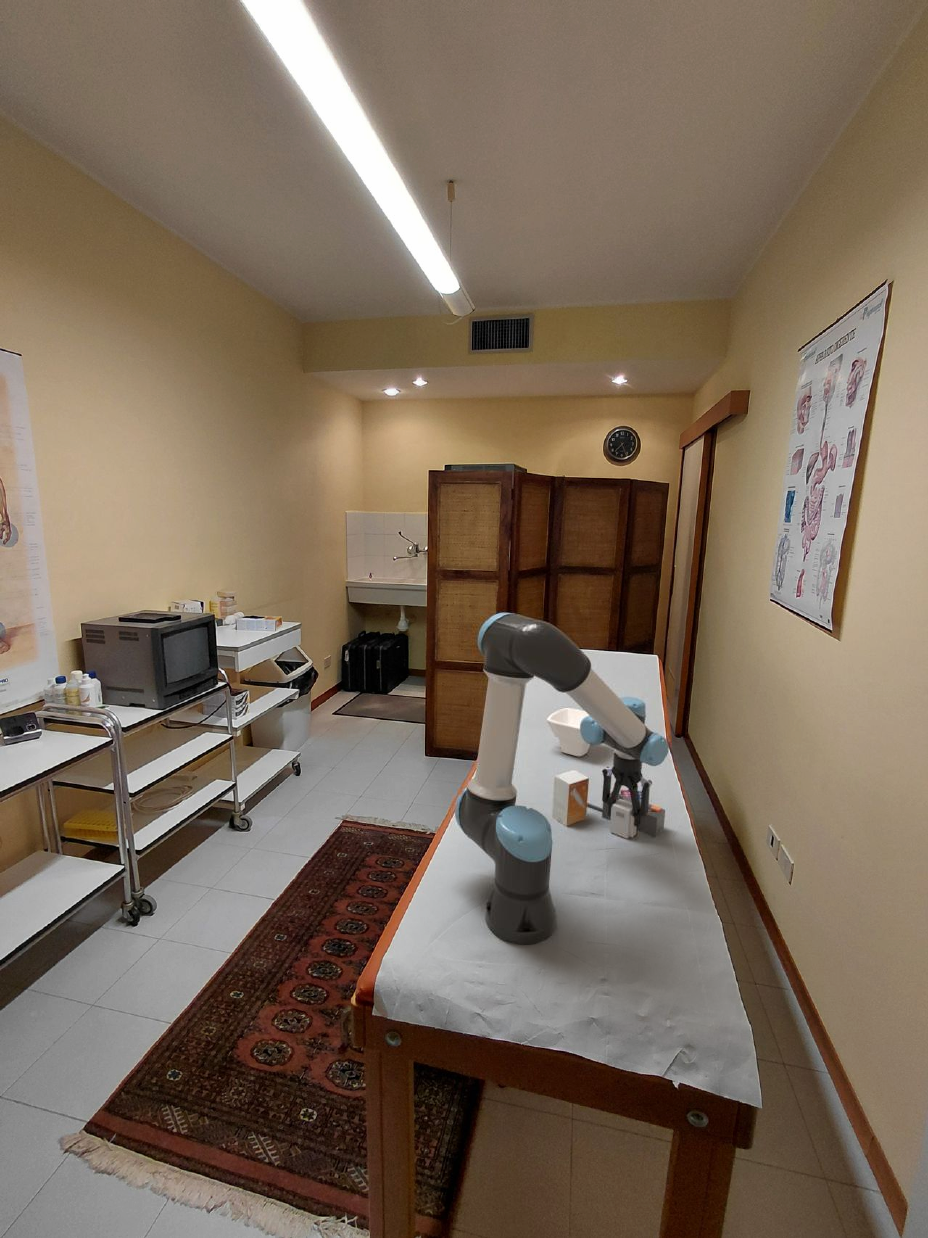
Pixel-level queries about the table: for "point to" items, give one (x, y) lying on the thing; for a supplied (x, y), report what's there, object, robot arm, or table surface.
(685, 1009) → the table surface
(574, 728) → the bowl
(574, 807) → the small box
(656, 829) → the power strip
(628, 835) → the block
